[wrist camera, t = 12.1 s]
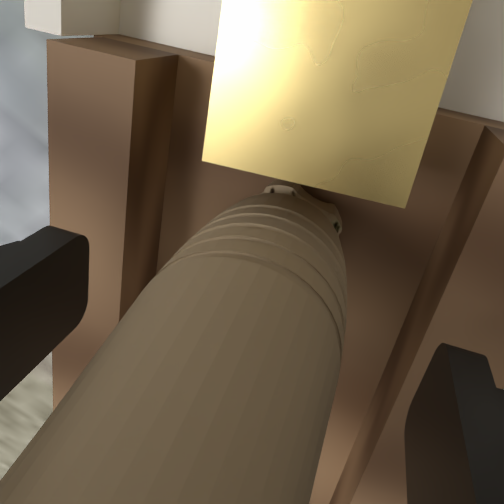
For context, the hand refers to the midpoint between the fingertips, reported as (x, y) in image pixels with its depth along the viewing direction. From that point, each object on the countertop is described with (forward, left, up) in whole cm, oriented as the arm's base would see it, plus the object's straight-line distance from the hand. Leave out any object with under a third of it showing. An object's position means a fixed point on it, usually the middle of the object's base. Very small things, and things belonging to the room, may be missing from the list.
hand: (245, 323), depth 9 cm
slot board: (+5, 0, -7) cm, 8 cm away
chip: (-4, 0, -5) cm, 7 cm away
